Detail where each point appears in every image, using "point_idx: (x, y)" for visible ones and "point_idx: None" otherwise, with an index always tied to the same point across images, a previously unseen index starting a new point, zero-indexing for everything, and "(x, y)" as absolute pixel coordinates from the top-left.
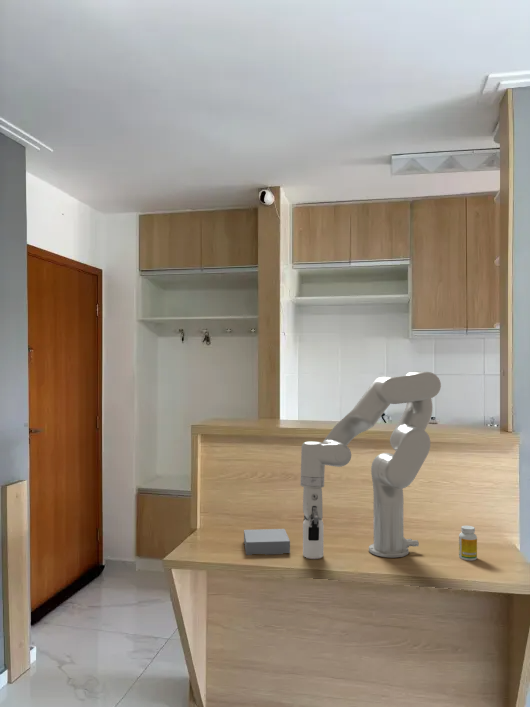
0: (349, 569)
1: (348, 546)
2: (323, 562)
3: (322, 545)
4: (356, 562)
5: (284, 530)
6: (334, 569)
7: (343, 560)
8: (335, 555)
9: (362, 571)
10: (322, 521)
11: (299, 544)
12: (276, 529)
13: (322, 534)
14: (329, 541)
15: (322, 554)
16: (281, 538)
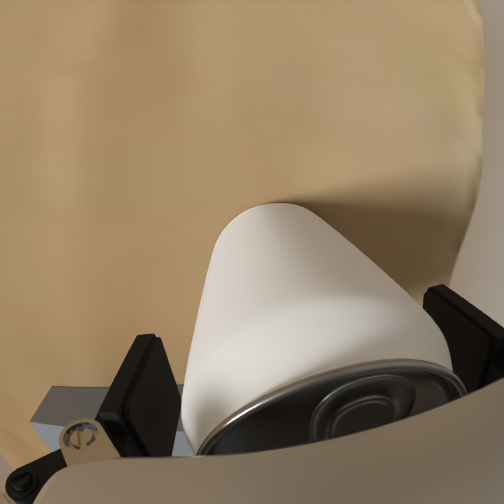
0: (464, 89)
1: (73, 49)
2: (381, 207)
3: (330, 226)
4: (369, 23)
5: (52, 428)
6: (467, 162)
7: (344, 83)
8: (251, 120)
9: (474, 43)
10: (368, 322)
11: (77, 331)
12: (55, 450)
13: (363, 254)
14: (2, 168)
15: (312, 212)
16: (193, 455)
